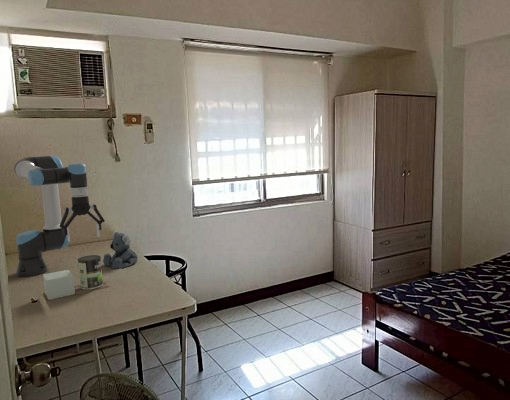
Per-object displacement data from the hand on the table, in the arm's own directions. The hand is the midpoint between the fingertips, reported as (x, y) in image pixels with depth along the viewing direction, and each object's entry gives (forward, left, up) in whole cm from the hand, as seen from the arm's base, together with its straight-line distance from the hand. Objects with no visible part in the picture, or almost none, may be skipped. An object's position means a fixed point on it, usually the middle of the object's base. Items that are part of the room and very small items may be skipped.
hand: (84, 239), depth 198 cm
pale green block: (+6, -14, -23) cm, 27 cm away
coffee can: (+6, 0, -23) cm, 23 cm away
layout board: (+6, -6, -24) cm, 26 cm away
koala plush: (-28, +25, -24) cm, 45 cm away
